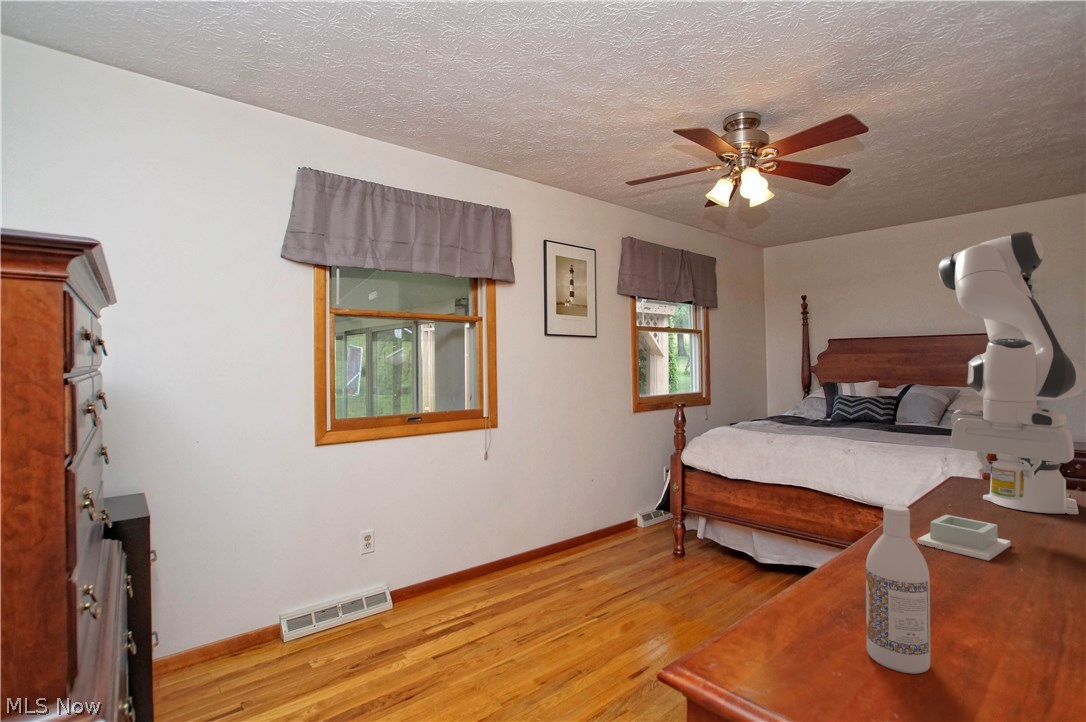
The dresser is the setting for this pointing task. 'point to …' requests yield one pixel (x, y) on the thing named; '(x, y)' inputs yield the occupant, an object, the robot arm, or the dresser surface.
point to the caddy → (965, 537)
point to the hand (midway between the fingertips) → (1007, 475)
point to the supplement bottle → (1007, 477)
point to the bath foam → (898, 597)
